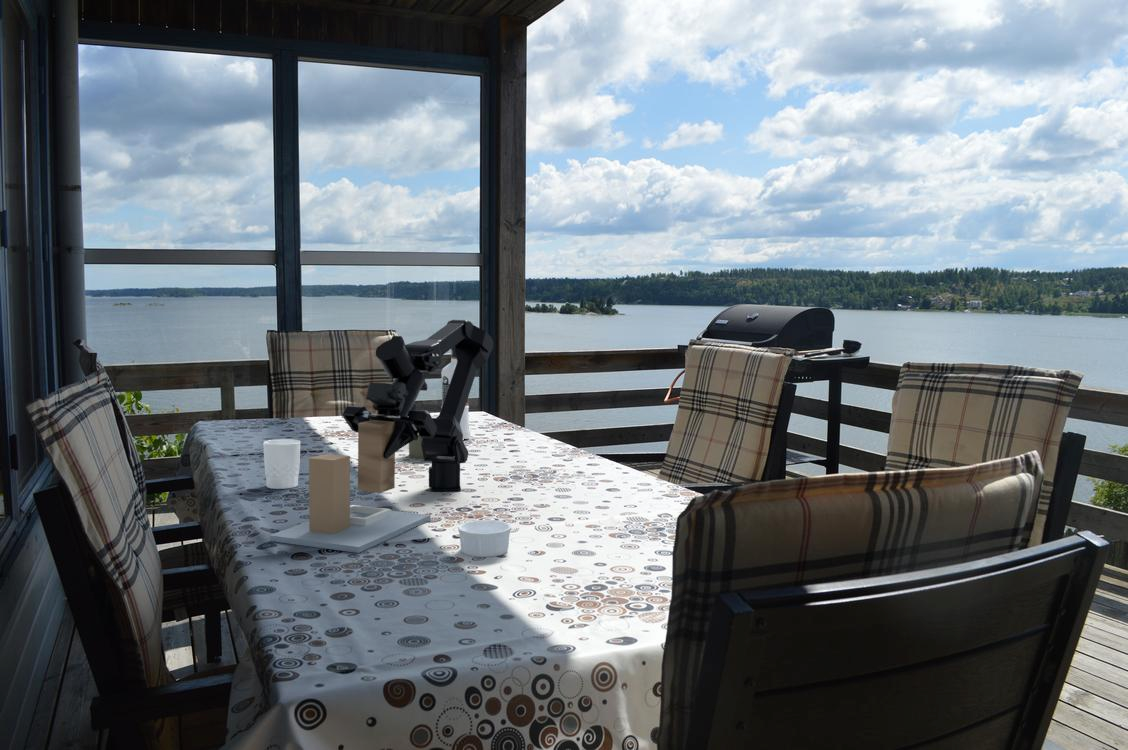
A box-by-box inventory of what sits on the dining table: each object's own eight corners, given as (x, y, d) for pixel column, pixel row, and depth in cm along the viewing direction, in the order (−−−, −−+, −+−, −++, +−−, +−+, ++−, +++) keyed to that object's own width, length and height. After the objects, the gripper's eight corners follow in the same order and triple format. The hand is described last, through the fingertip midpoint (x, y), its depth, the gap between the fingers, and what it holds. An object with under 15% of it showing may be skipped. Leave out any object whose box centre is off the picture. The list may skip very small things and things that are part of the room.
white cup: (266, 491, 191) (266, 445, 190) (261, 484, 198) (260, 440, 197) (303, 488, 194) (303, 443, 194) (297, 481, 201) (296, 438, 201)
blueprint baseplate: (350, 511, 174) (350, 441, 173) (430, 520, 168) (430, 447, 166) (269, 540, 151) (268, 460, 150) (358, 552, 145) (358, 469, 144)
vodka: (475, 439, 267) (476, 340, 264) (448, 442, 261) (449, 341, 259) (461, 435, 274) (461, 339, 272) (434, 437, 269) (434, 340, 266)
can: (462, 455, 239) (462, 430, 238) (433, 462, 229) (433, 436, 228) (428, 451, 245) (428, 426, 245) (398, 457, 235) (398, 431, 235)
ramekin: (489, 562, 142) (490, 535, 141) (447, 553, 146) (447, 527, 146) (521, 549, 149) (521, 524, 149) (479, 541, 154) (479, 517, 153)
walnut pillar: (372, 485, 173) (373, 420, 172) (394, 488, 171) (395, 421, 170) (357, 490, 168) (358, 423, 167) (380, 493, 166) (380, 425, 165)
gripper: (347, 365, 175) (313, 427, 165) (429, 369, 168) (399, 433, 159) (369, 400, 183) (338, 461, 173) (449, 405, 176) (421, 469, 167)
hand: (372, 456), depth 168 cm, fingers closed on walnut pillar, 5 cm apart
